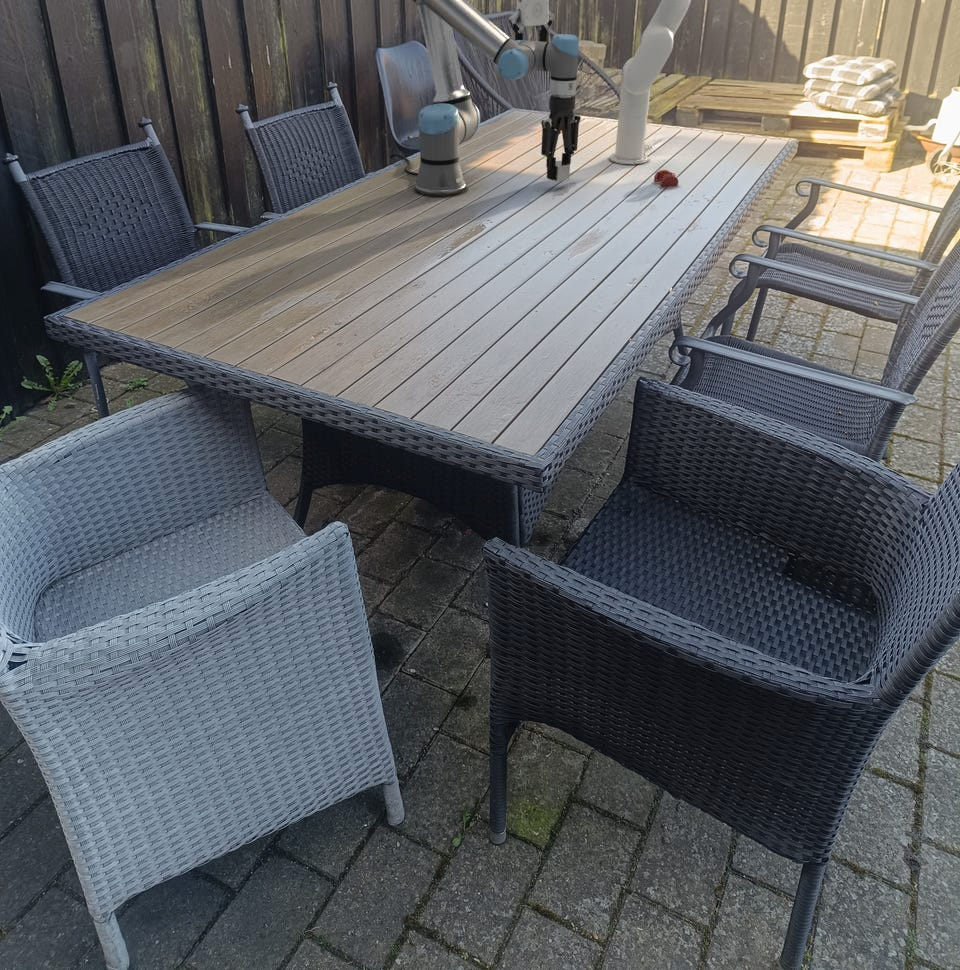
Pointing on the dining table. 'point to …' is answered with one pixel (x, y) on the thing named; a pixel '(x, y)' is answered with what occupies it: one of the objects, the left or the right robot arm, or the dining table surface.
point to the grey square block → (561, 171)
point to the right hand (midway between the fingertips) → (531, 45)
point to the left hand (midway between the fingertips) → (557, 177)
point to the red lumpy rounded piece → (666, 178)
